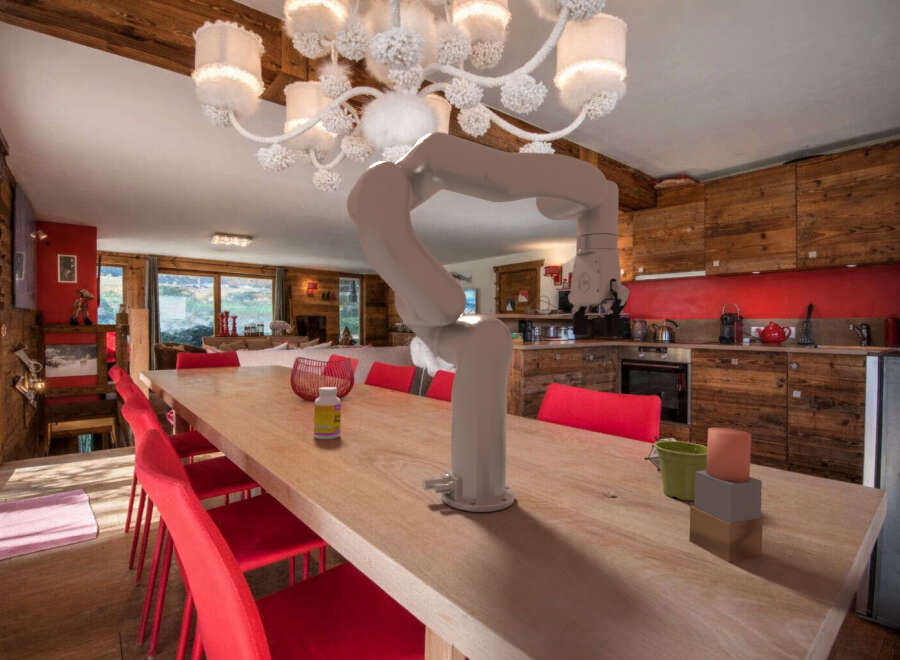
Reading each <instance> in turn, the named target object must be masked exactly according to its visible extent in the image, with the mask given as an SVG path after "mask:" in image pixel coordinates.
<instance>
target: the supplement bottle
mask: <svg viewBox="0 0 900 660" xmlns="http://www.w3.org/2000/svg"><path fill="white" fill-rule="evenodd" d="M318 394H319V396H318V397H317V398H315V400H314V417H313V418H314V419H313V421H314V423H313V425H314V426H313V435H314V438H316V439H318V440H334V439H337V438H339V437H340V436H341V415H342V414H341V408H342V407H341V406H342V405H341V404H342V403H341V402H342V401H341V399H340V398H339V397H338V396H337V395H338V388H337V387H336V386H324V387H323V386H322V387H318Z"/></svg>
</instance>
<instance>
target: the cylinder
mask: <svg viewBox="0 0 900 660" xmlns="http://www.w3.org/2000/svg"><path fill="white" fill-rule="evenodd" d="M706 447H707V469H706V472H707V474H709V475H710V476H713V477H715V478H718V479H722V480H727V481H734V482H746V481H749V479H750V477H751V475H750V474H751V473H750V471H751V454H752V453H751V451H752V450H751V449H752V448H751V447H752V433H750V432H747V431H745V430H740V429H734V428H730V427H709V428H708V429H707V446H706Z"/></svg>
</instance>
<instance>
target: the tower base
mask: <svg viewBox="0 0 900 660" xmlns="http://www.w3.org/2000/svg"><path fill="white" fill-rule="evenodd" d="M763 522H764V519H763V517H761V518H759V519H754V520H748V521H743V522H737V523H732V524H730V523H728V522H725V521H723V520H721V519H719V518H717V517H715V516H712V515H710V514H708V513H706V512H704V511H701V510H699V509H697V508H695V507H694V505H690V506H689V542H691V543H692V544H693V545H695V546H697V547H700V548H701V549H703V550H705V551H707V552H708V553H710V554H712V555H714V556H716V557H717V558H719V559H721V560H723V561H724V562H726V563H733V562H738V561H742V560H746V559H750V558H751V559H752V558H756V557H761V556H762V555H763Z"/></svg>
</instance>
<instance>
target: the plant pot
mask: <svg viewBox="0 0 900 660" xmlns="http://www.w3.org/2000/svg"><path fill="white" fill-rule="evenodd" d="M680 441H681V440H677V441H660V442H656V443H655V442H654V443H653V445H654V447H655V448H656V449H657V454H658V456H659V460H660V467H661V471H660V473H661V481H662V482H661V483H662V490H663V493H664V494H665V495H667V496H668V497H671V498H672V497H675V498H677V499H679V500H681V501H691V502H693V501H694V492H695V472H696V471H704V470H707V446H705V445H702V444H698V443H694V442H689V441H688V442H686V441H682V442H680Z"/></svg>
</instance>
